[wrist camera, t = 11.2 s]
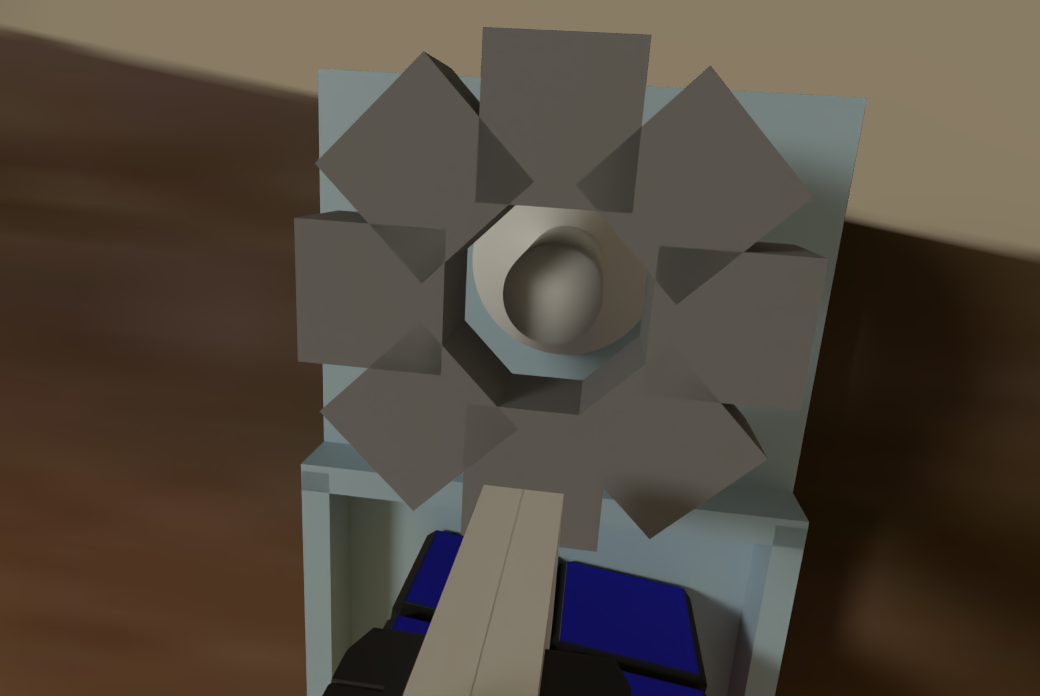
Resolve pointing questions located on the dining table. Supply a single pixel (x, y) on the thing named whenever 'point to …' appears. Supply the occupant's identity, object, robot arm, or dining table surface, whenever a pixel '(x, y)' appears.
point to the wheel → (569, 185)
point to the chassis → (575, 355)
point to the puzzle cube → (585, 619)
